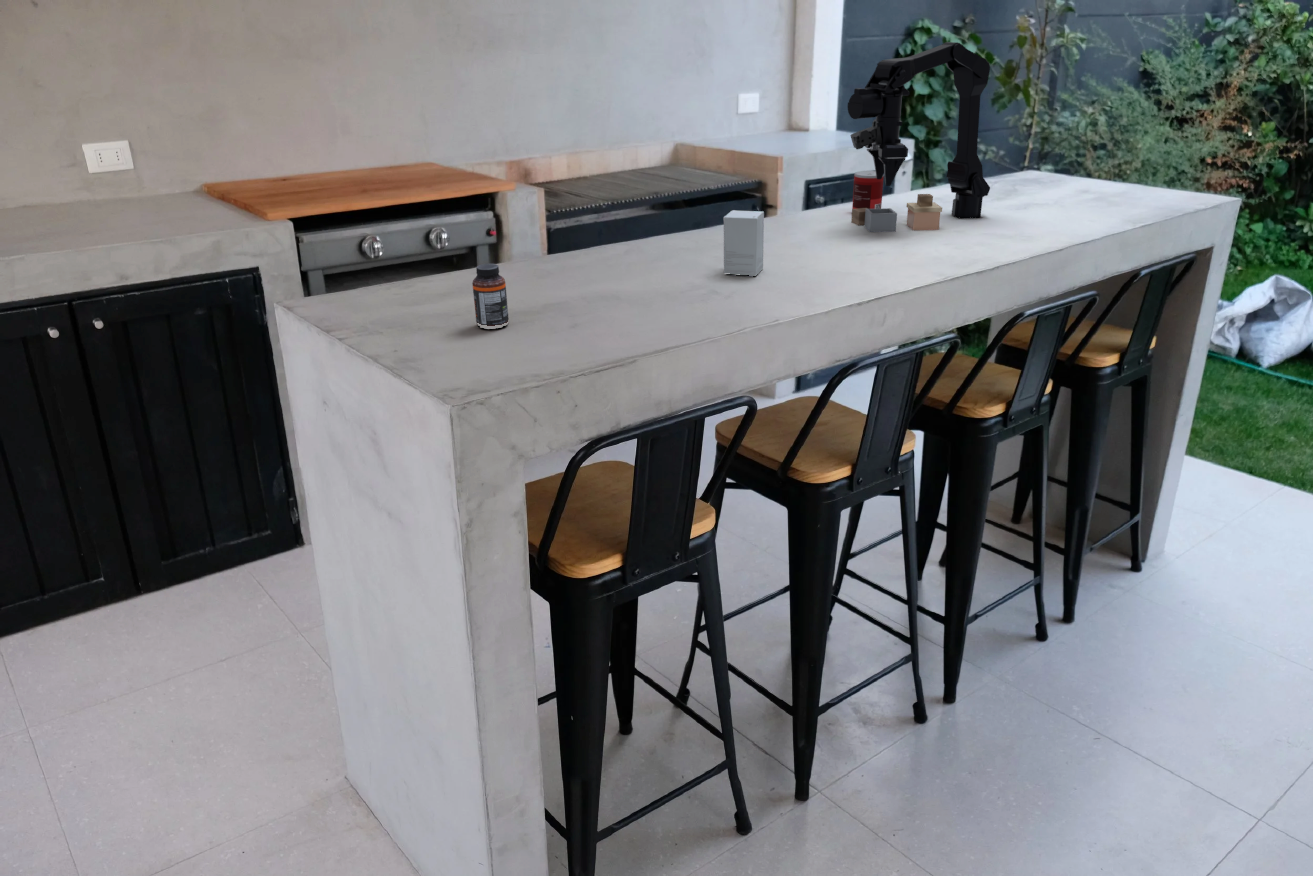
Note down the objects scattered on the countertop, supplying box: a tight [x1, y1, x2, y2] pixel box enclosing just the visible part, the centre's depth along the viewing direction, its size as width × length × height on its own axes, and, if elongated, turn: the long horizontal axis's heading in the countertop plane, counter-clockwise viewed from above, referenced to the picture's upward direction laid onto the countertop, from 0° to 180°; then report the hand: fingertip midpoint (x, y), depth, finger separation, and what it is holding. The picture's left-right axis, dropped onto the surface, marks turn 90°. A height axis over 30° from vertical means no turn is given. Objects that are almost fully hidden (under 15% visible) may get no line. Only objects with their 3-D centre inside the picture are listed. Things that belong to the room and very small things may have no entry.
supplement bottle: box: [472, 263, 510, 326], centre depth 180 cm, size 6×6×11 cm
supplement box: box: [722, 209, 765, 277], centre depth 212 cm, size 7×7×13 cm
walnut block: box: [850, 208, 868, 226], centre depth 253 cm, size 4×4×4 cm
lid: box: [906, 193, 943, 213], centre depth 246 cm, size 7×7×4 cm
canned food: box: [851, 170, 885, 210], centre depth 264 cm, size 8×8×11 cm
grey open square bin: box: [863, 207, 898, 233], centre depth 247 cm, size 6×6×5 cm
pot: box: [906, 208, 941, 231], centre depth 248 cm, size 6×6×5 cm
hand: (883, 182), depth 243 cm, fingers open, 9 cm apart
